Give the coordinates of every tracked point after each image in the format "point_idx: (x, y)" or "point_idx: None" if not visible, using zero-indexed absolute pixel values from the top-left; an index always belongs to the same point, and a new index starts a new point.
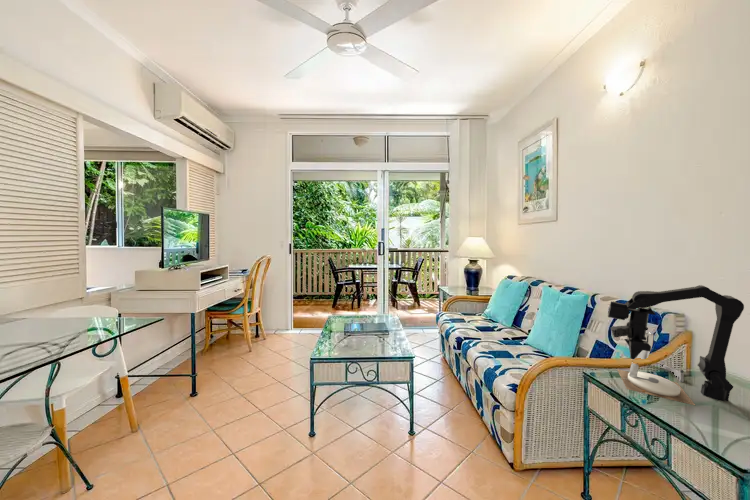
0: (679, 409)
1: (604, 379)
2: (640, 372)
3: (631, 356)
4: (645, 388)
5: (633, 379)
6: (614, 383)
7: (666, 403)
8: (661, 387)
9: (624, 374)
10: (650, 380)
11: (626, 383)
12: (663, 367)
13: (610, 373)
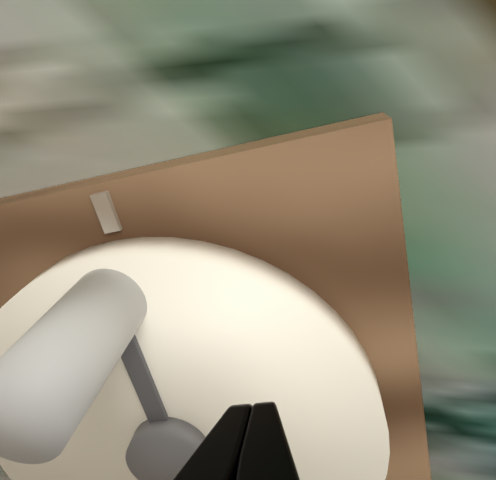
0: (4, 473)
1: (13, 7)
2: (337, 372)
3: (192, 461)
4: None
5: (29, 303)
6: (11, 117)
7: None
8: (77, 477)
9: (260, 205)
10: (135, 433)
11: (3, 228)
12: None
13: (284, 46)
